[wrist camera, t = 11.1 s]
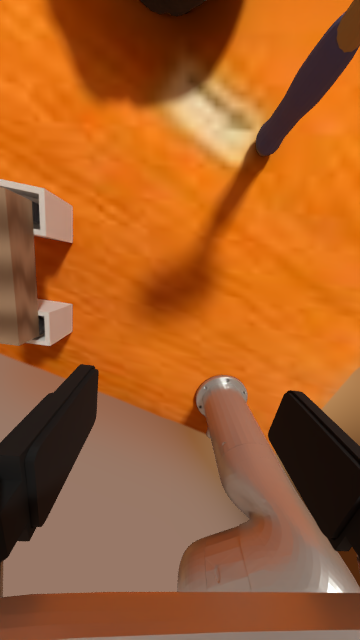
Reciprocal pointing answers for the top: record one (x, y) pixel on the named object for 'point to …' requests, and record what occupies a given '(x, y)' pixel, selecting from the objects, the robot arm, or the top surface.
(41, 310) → the twin hollow square sockets
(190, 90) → the top surface
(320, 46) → the rubber mallet
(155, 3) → the stone bowl
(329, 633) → the robot arm
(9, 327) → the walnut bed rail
